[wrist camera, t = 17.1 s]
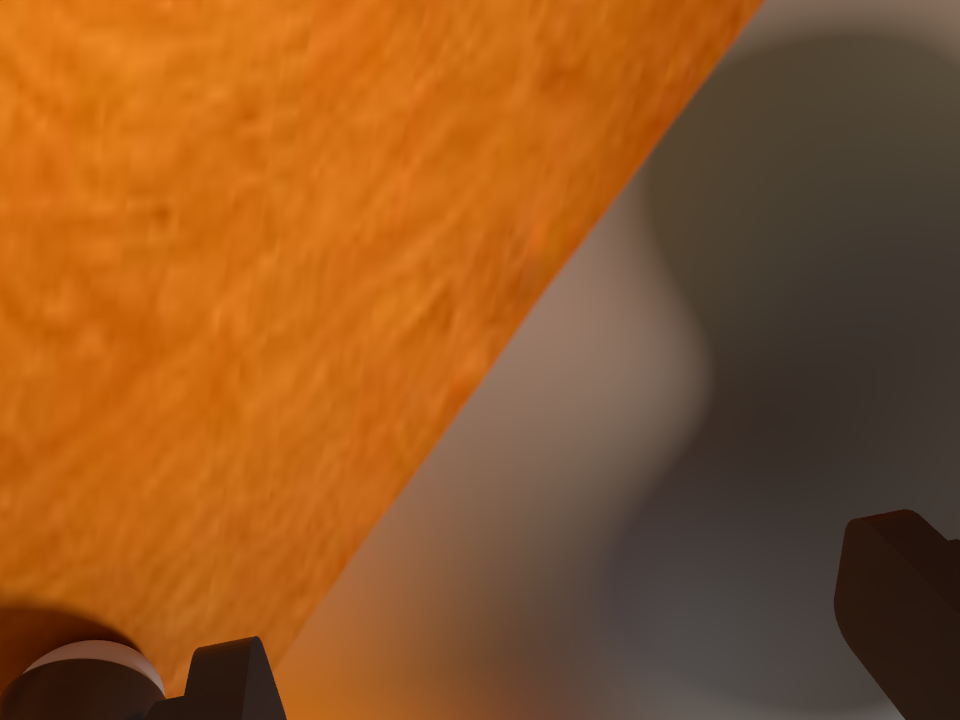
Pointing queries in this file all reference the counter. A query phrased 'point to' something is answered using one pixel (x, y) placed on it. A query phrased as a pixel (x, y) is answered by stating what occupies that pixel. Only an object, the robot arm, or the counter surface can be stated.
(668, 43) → the counter surface
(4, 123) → the counter surface
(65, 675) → the black egg-shaped device
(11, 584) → the counter surface
